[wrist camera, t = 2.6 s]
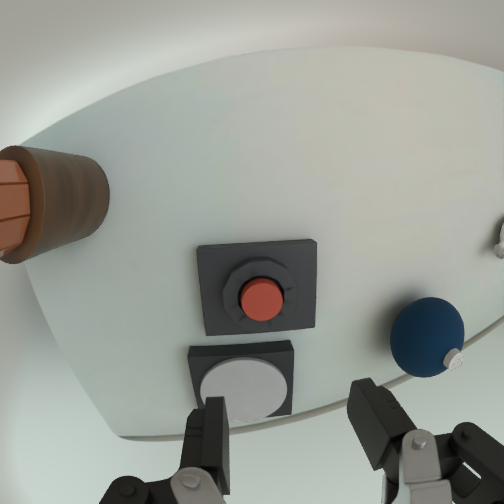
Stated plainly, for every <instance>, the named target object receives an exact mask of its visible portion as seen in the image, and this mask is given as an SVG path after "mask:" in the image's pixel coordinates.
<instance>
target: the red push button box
mask: <svg viewBox="0 0 504 504" xmlns="http://www.w3.org/2000/svg"><path fill="white" fill-rule="evenodd" d="M196 251H197V262H198V272H199V282H200V291H201V300H202V308H203V316H204V324H205V332H206V336H215V335H235V334H251V333H264V332H276V331H286V330H296V329H306V328H314V327H315V311H316V278H317V242H315V241H314V240H312V239H306V240H288V241H269V242H252V243H235V244H218V245H202V246H198V248H197V250H196ZM258 278H265V279H269V280H271V281H273V282H274V283H275V284H276V285H277V286H278V288H279V290H280V292H281V295H282V298H283V304H282V307H281V310H280V311H279V313H278V314H277V315H276V316H275V317H273V318H271V319H269V320H265V321H257V320H254V319H252V318H250V317H248V316H247V315H246V314H245V312H244V311H243V308H242V303H241V293H242V290H243V288H244V287H245V286H246V284H247V283H249V282H250V281H252V280H254V279H258Z"/></svg>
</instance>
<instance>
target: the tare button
mask: <svg viewBox="0 0 504 504" xmlns="http://www.w3.org/2000/svg"><path fill="white" fill-rule="evenodd" d="M241 303H242V308H243V311H244V312H245V314H246V315H247V316H248V317H250V318H252V319H254V320H257V321H265V320H269V319H271V318H273V317H275V316H276V315H277V314H278V313H279V311H280V310H281V307H282V304H283V298H282V295H281V292H280V290H279V288H278V286H277V285H276V284H275V283H274V282H273V281H271V280H269V279H265V278H258V279H254V280H252V281H250V282H249V283H247V284H246V286H245V287H244V288H243V290H242V293H241Z"/></svg>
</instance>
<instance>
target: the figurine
mask: <svg viewBox="0 0 504 504" xmlns="http://www.w3.org/2000/svg"><path fill="white" fill-rule="evenodd" d="M494 253H495V255H496V256H497V257H499V258H500V259H504V224H503V225H502V228H501V232H500V242H499V244H497V245H495V246H494Z"/></svg>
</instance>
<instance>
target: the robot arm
mask: <svg viewBox="0 0 504 504" xmlns="http://www.w3.org/2000/svg"><path fill="white" fill-rule="evenodd" d="M347 414H348V418H349V420H350V422H351V424H352V426H353V428H354V430H355V432H356V434H357V436H358V438H359V440H360V443H361V445H362V447H363V449H364V451H365V453H366V455H367V457H368V459H369V461H370V464H371V466H372V468H373V470H374V471H375V470H378V469H381V468H383V469H384V471H385V473H384V475H383V483H382V484H383V485H382V500H381V504H452V501H453V502H454V503H455V504H504V446H503V445H502V444H500V443H499V442H498V441H496V440H495V439H494V438H493V437H491V436H490V435H489V434H487V433H486V432H485V431H483V430H482V429H481V428H479V427H478V426H477V425H475V424H473V423H470V422H463V423H460V424H458V425H457V426H456V427H455V428H454V430H453V432H452V433H447V434H441V435H435V436H434V435H433V434H432V433H430V432H429V431H426V430H422V429H417V427H416V426H415V425H414V423H413V422H412V420H411V419H410V418H409V416H408V415H407V414H406V412H405V411H404V409H403V408H402V407H401V406H400V404H399V402H398V401H396V398H395V397H394V396H393V394H392V393H391V391H389V390H388V389H386V388H384V387H383V386H378V387H377V386H376V385H375V383H374V382H373V380H372V379H371V378H364V379H360V380H355V381H353V382H352V384H351V389H350V394H349V399H348V403H347ZM464 462H465V463H466V464H468V465H469V466H470V467H471V468H472V469H473V470H474V471H476V472H477V473H478V474H479V475H480V476H481V479H480V478H478V477H477V476H476V475H475V474H473V473H472V472H471V471H470V470H469V469H468V468H467V467H466V466H464V465H463V463H464ZM229 476H230V470H229V424H228V417H227V410H226V404H225V398H224V396H219V397H206V400H205V409H193V411H192V412H191V413H190V415H189V416H188V417H187V423H186V429H185V437H184V442H183V449H182V455H181V463H180V467H179V469H178V471H177V472H176V473H175V474H174V475H173V476H172V477H170V478H168V479H165V480H161V481H155V482H146V483H144V482H143V481H142V480H141V479H139V478H137V477H133V476H122V477H119V478H117V479H115V480H114V481H113V482H112V483H111V485H110V486H109V488H108V489H107V491H106V493H105V494H104V496H103V498H102V499H101V501H100V502H99V504H226V503H225V501H224V499H223V495H230V477H229Z"/></svg>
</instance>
